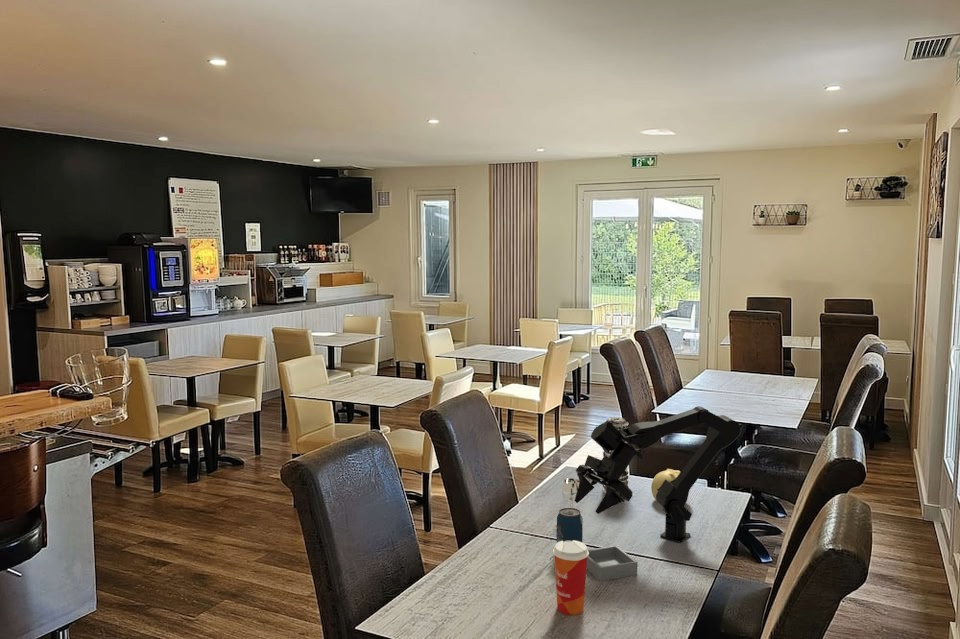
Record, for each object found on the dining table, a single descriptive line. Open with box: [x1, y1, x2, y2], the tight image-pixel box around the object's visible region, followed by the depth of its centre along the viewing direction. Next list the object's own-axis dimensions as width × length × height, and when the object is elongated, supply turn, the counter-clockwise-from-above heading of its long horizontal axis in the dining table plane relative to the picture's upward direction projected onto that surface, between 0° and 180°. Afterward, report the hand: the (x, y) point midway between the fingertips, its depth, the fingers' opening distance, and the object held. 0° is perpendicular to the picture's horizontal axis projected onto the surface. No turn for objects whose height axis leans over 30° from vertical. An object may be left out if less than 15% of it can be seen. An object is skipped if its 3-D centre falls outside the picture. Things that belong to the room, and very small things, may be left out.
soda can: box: [556, 507, 584, 543], centre depth 193 cm, size 7×7×12 cm
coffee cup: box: [552, 540, 589, 616], centre depth 165 cm, size 8×8×15 cm
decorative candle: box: [602, 416, 630, 494], centre depth 241 cm, size 9×9×25 cm
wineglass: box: [561, 478, 579, 508], centre depth 218 cm, size 6×6×12 cm
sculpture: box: [650, 468, 681, 501], centre depth 231 cm, size 12×12×11 cm
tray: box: [586, 545, 639, 582], centre depth 185 cm, size 11×11×3 cm
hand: (586, 507), depth 195 cm, fingers open, 9 cm apart
